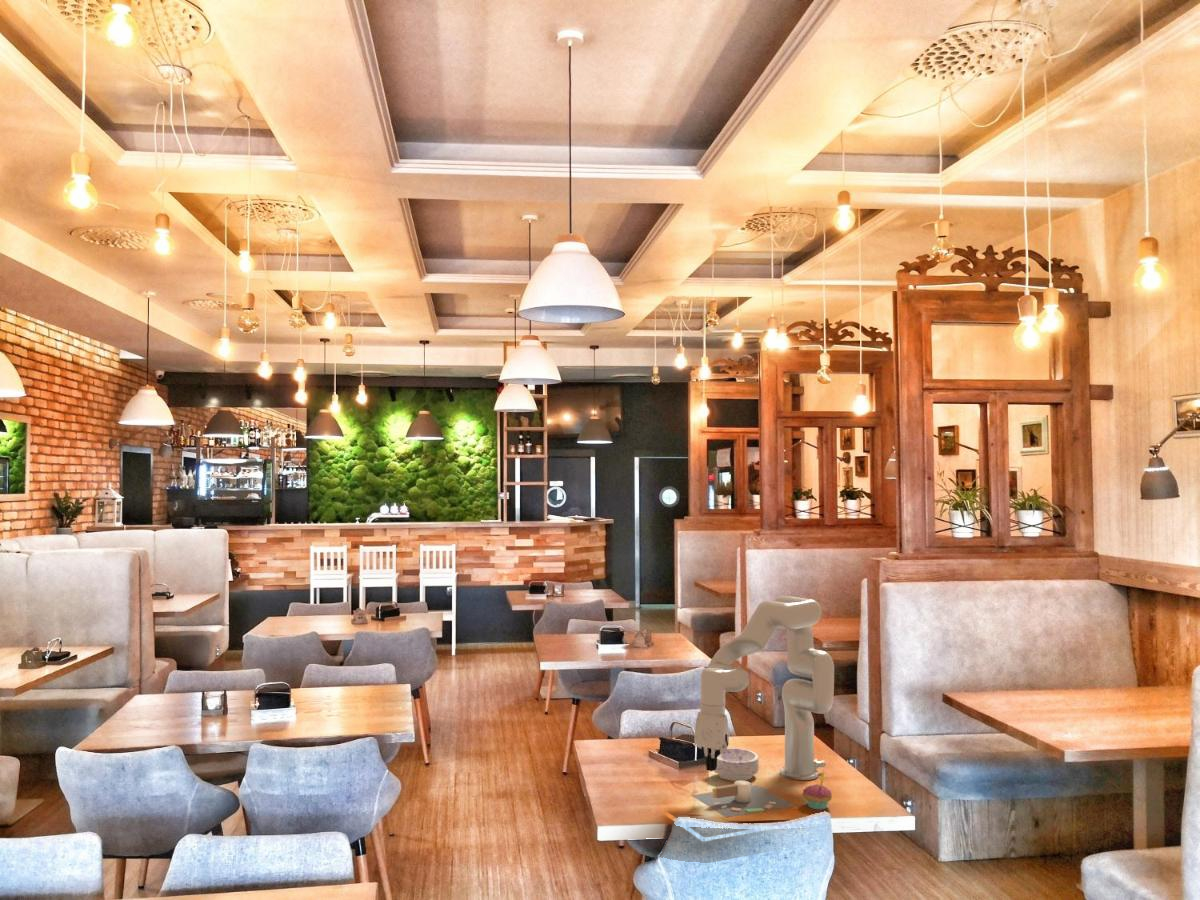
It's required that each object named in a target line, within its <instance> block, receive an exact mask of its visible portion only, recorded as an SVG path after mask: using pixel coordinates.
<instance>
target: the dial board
mask: <svg viewBox="0 0 1200 900" xmlns="http://www.w3.org/2000/svg"><path fill="white" fill-rule="evenodd" d="M712 794H713V791H711V792H705V793H704V792H703V793H697V794H693V795H691V796H692V797H694V798H695V799H696V800H698V801H700V802H701V803H703V804H704V805H706V806H708V807H709V808H711V809H713V810H714V811H716V812H718V813H719V814H721V815H722V816H724V817H726V818H730V817H732V818H733V817H737V816H743V815H749V814H754V813H755V814H756V813H761V812H766V811H767V812H768V811H773V810H780V809H784V808H785V809H786V808H789V807H795V805H794V804H792V803H791V802H789V801H787V800H785V799H783V798H781V797H779V796H778V795H776V794H774V793H772V792H770V791H768V790H766V789H764V788H763V787H761V786H759V785H751V801H750V802H747V803H741V802H737V801H735V800H734V796H729V797H723V798H713V797H712Z"/></svg>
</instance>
